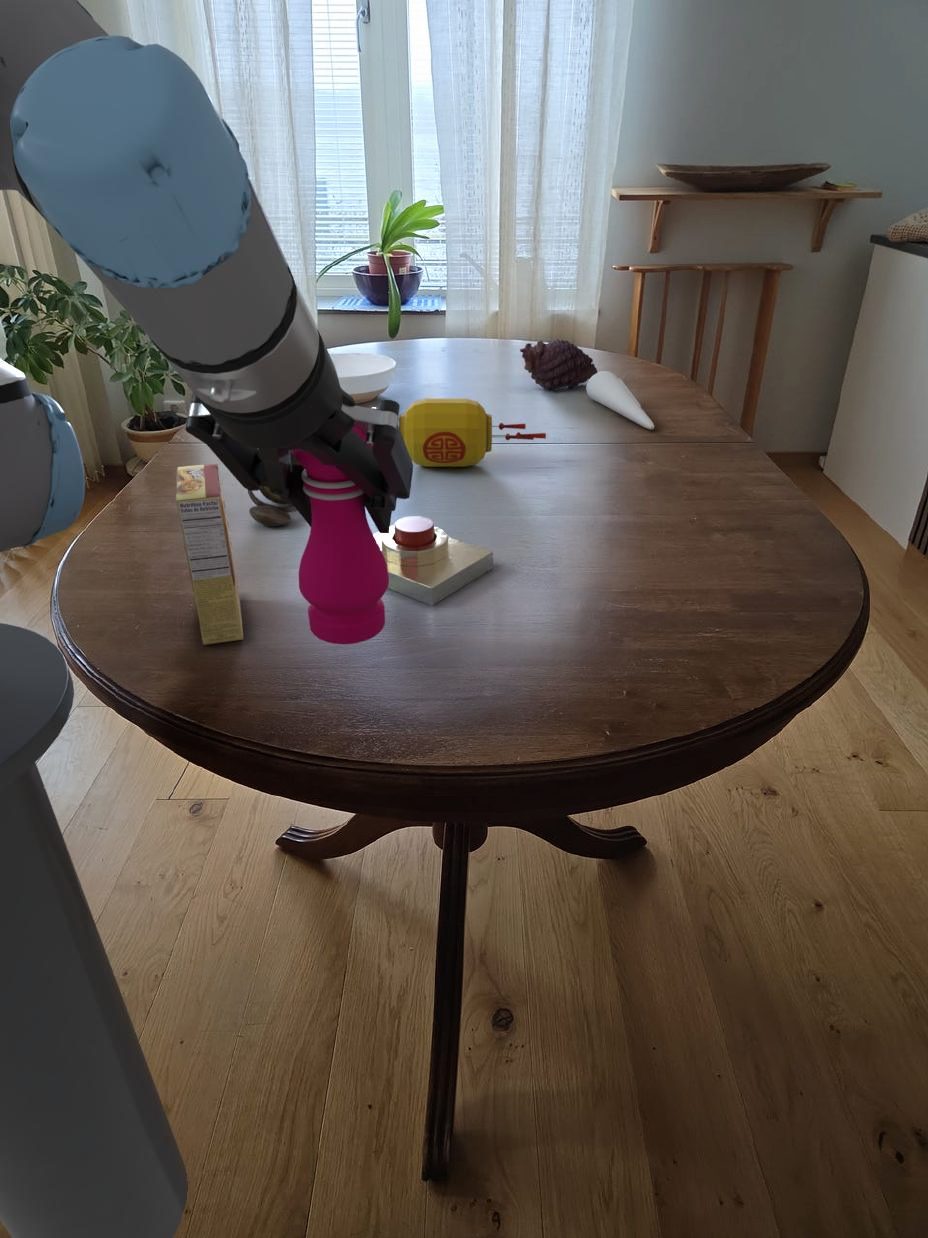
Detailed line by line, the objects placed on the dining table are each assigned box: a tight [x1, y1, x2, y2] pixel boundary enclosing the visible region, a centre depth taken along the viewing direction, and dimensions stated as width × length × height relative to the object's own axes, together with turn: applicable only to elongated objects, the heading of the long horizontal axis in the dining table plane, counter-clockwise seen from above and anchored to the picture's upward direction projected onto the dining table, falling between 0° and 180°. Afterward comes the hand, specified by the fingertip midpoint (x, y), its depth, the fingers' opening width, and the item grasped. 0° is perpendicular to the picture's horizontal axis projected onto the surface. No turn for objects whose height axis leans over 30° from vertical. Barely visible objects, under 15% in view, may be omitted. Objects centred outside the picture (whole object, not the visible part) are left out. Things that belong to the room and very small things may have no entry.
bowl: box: [329, 352, 397, 405], centre depth 151 cm, size 20×20×6 cm
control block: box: [373, 523, 494, 607], centre depth 90 cm, size 14×11×4 cm
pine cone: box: [519, 339, 598, 391], centre depth 157 cm, size 18×10×10 cm
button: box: [394, 515, 435, 547], centre depth 88 cm, size 4×4×2 cm
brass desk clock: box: [247, 450, 301, 527], centre depth 104 cm, size 7×13×10 cm
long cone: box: [585, 370, 655, 431], centre depth 141 cm, size 6×6×19 cm
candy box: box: [175, 463, 244, 646], centre depth 77 cm, size 9×4×15 cm, turn 17°
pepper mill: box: [292, 426, 389, 645], centre depth 61 cm, size 7×7×20 cm
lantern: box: [398, 398, 547, 468], centre depth 118 cm, size 10×10×30 cm
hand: (352, 515), depth 65 cm, fingers closed on pepper mill, 5 cm apart
